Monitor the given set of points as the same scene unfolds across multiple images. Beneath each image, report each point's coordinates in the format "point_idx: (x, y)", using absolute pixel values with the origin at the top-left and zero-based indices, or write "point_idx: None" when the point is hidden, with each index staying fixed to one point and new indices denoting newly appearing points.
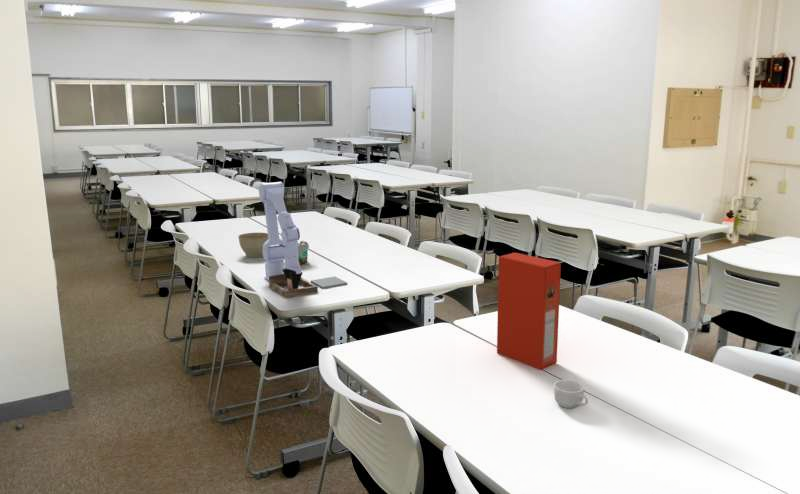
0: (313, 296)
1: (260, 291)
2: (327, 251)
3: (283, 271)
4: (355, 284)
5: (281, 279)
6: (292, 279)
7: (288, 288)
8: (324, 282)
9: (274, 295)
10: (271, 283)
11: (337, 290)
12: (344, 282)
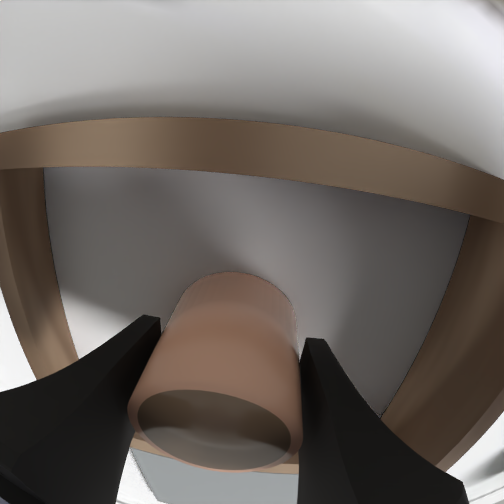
0: (4, 319)
1: (430, 8)
2: (499, 494)
3: (414, 493)
4: (143, 496)
5: (474, 348)
6: (43, 378)
7: (223, 286)
8: (216, 486)
9: (156, 42)
10: (486, 173)
11: None
12: (163, 499)
